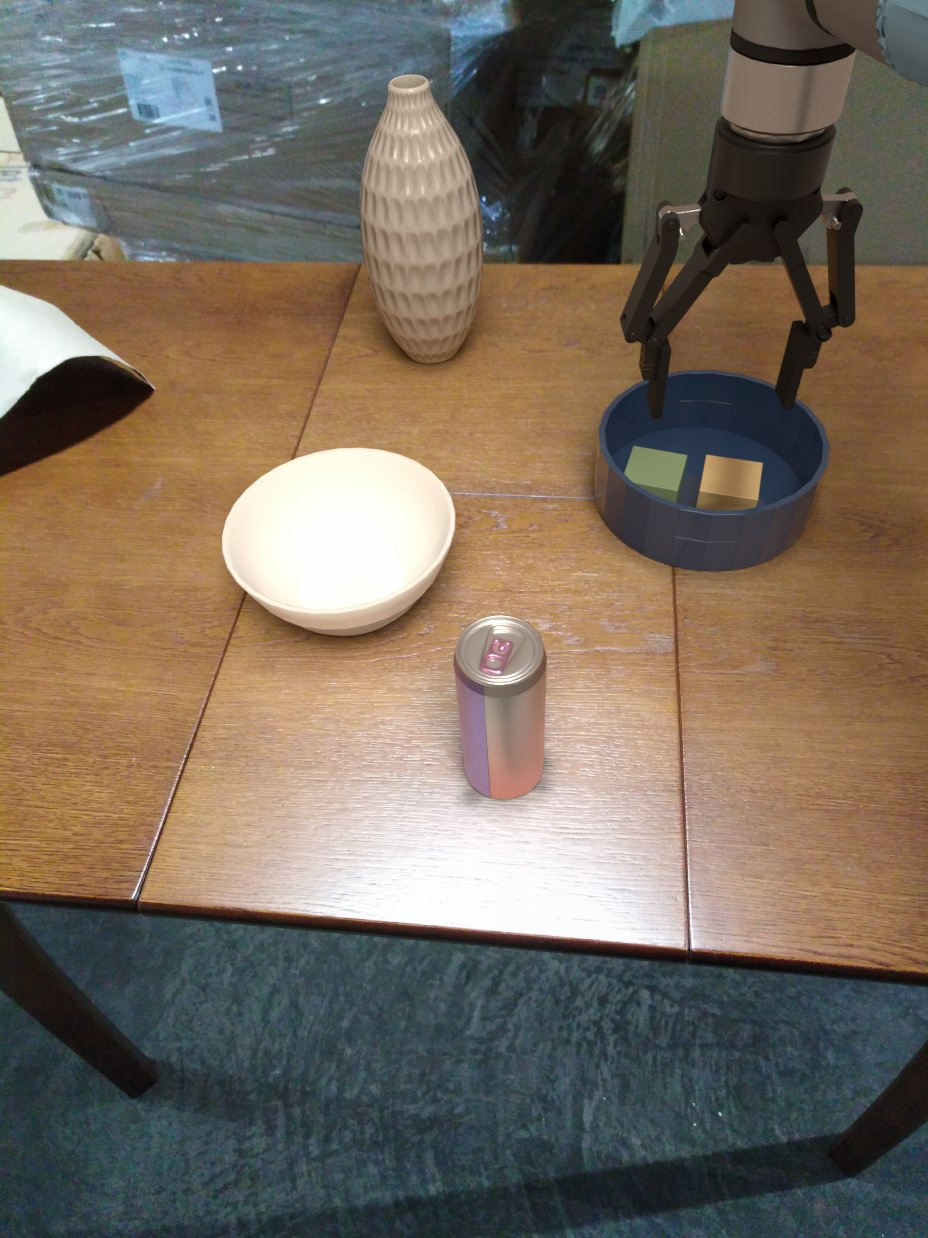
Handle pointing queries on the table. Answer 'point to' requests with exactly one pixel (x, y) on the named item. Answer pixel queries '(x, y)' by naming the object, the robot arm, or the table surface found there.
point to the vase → (421, 225)
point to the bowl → (340, 539)
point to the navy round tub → (698, 426)
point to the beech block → (729, 484)
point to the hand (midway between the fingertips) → (718, 403)
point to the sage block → (657, 471)
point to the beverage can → (501, 704)
